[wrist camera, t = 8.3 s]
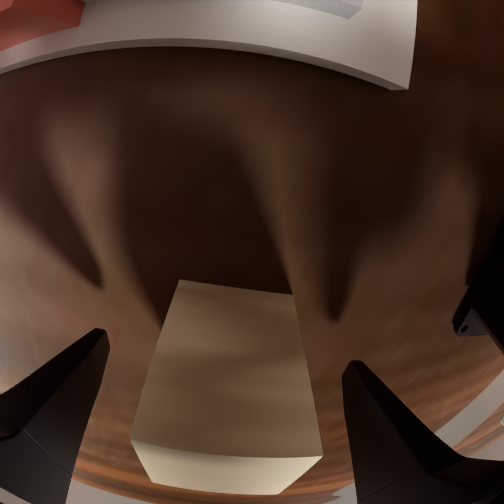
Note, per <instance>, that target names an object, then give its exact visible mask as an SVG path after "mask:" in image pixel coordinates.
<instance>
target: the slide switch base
mask: <svg viewBox="0 0 504 504" xmlns="http://www.w3.org/2000/svg"><path fill="white" fill-rule="evenodd" d="M416 18H417V0H0V74H2V73H5V72H8V71H11V70H14V69H17V68H21V67H24V66H27V65H31V64H34V63H38V62H42V61H46V60H50V59H55V58H59V57H64V56H69V55H75V54H80V53H87V52H93V51H101V50H109V49H119V48H132V47H153V46H184V47H206V48H219V49H229V50H238V51H246V52H253V53H259V54H266V55H271V56H277V57H282V58H287V59H292V60H296V61H301V62H305V63H309V64H313V65H317V66H321V67H324V68H328V69H332V70H335V71H338V72H342V73H345V74H348V75H351V76H354V77H357V78H360V79H363V80H366V81H369V82H371V83H374V84H377V85H379V86H382V87H385V88H387V89H390V90H405V89H408V87H409V81H410V75H411V68H412V60H413V52H414V42H415V32H416Z"/></svg>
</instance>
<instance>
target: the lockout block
mask: <svg viewBox="0 0 504 504" xmlns="http://www.w3.org/2000/svg"><path fill="white" fill-rule="evenodd" d="M129 439H130V441H131V443H132V445H133V447H134V449H135V451H136V453H137V455H138V457H139V459H140V461H141V463H142V464H143V466H144V468H145V470H146V472H147V473H148V475H149V477H150V479H151V480H152V482H153V483H158V484H163V485H168V486H173V487H179V488H185V489H192V490H200V491H208V492H219V493H232V494H279V493H280V492H281V491H283V490H284V489H285V488H287V487H288V486H289V485H290V484H292V483H293V482H294V481H295V480H296V479H298V478H299V477H300V476H301V475H302V474H304V473H305V472H306V471H307V470H308V469H309V468H311V467H312V466H313V465H314V464H315V463H316V462H317V461H318V460H319V459H321V458H322V457H323V452H322V445H321V439H320V433H319V428H318V422H317V416H316V410H315V405H314V399H313V394H312V388H311V383H310V378H309V372H308V367H307V362H306V357H305V352H304V347H303V342H302V337H301V332H300V327H299V322H298V317H297V313H296V308H295V303H294V298H293V295H289V294H280V293H272V292H264V291H257V290H249V289H242V288H234V287H227V286H220V285H213V284H206V283H200V282H193V281H187V280H179V282H178V285H177V288H176V290H175V293H174V296H173V299H172V302H171V304H170V307H169V310H168V313H167V316H166V319H165V322H164V325H163V328H162V331H161V333H160V336H159V340H158V343H157V346H156V349H155V352H154V355H153V358H152V361H151V364H150V368H149V371H148V374H147V377H146V381H145V384H144V387H143V391H142V394H141V398H140V401H139V405H138V408H137V412H136V415H135V419H134V423H133V426H132V430H131V434H130V438H129Z"/></svg>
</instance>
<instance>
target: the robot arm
mask: <svg viewBox="0 0 504 504" xmlns="http://www.w3.org/2000/svg"><path fill="white" fill-rule="evenodd" d="M453 330H454V331H455V333H456V334H457V336H459V337H460V336H477V335H489V336H490V337H491V338H492V340H493V341H494V342H495V344H496V345H497V347H498V348H499V349H500V351H501V352H502V354H503V355H504V224H503V227H502V230H501V232H500V235H499V237H498V240H497V242H496V245H495V247H494V250H493V252H492V254H491V257H490V259H489V261H488V263H487V265H486V268H485V270H484V272H483V274H482V276H481V278H480V280H479V282H478V284H477V286H476V288H475V290H474V292H473V294H472V295H471V297H470V299H469V301H468V303H467V305H466V306H465V308H464V310H463V311H462V313H461V315H460V317H459V318H458V320H457V322H456V323H455V325H454V328H453ZM109 351H110V344H109V340H108V336H107V332H106V331H105V330H104V329H100V328H94V329H93V330H92V331H90V332H89V333H87V334H86V335H84V336H83V337H82V338H80V339H79V340H77V341H76V342H75V343H73V344H72V345H70V346H69V347H68V348H66V349H65V350H63V351H62V352H61V353H59V354H58V355H56V356H55V357H54V358H52V359H51V360H49V361H48V362H47V363H45V364H44V365H43V366H41V367H40V368H39V369H37V370H36V371H34V372H33V373H32V374H30V376H28V377H26V378H25V379H24V380H22V381H21V382H19V383H18V384H16V385H15V386H14V387H12V388H10V389H9V390H7V391H6V392H4V393H2V394H1V395H0V504H65V503H66V498H67V494H68V490H69V486H70V482H71V478H72V473H73V469H74V466H75V462H76V459H77V455H78V452H79V448H80V445H81V442H82V438H83V435H84V432H85V429H86V426H87V423H88V420H89V417H90V414H91V411H92V408H93V405H94V402H95V399H96V397H97V394H98V391H99V388H100V385H101V382H102V378H103V374H104V370H105V366H106V362H107V358H108V355H109ZM342 388H343V403H344V414H345V420H346V426H347V432H348V438H349V444H350V451H351V457H352V464H353V471H354V479H355V487H356V495H357V504H504V461H497V460H484V459H475V458H467V457H464V456H462V455H460V454H458V453H457V452H455V451H454V450H453V449H452V448H451V447H449V446H448V445H447V444H446V443H444V442H443V441H442V440H441V439H440V438H438V437H437V436H436V435H435V434H434V433H433V432H432V431H430V430H429V429H428V428H427V427H426V426H425V425H424V424H423V423H422V422H421V421H420V420H419V419H418V418H417V417H416V416H415V415H414V414H413V413H412V412H411V411H410V410H409V409H408V408H407V406H406V405H405V404H404V403H403V402H402V401H401V400H400V399H399V398H398V397H397V396H396V395H395V394H394V393H393V392H392V391H391V390H390V389H389V388H388V387H387V386H386V385H385V384H384V383H383V382H382V381H381V380H380V379H379V378H378V377H377V376H376V375H375V374H374V373H373V372H372V371H371V370H370V369H369V368H368V367H367V366H366V365H365V364H364V363H363V362H362V361H360V360H352V361H350V362H349V364H348V366H347V367H346V369H345V371H344V372H343V375H342Z"/></svg>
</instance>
